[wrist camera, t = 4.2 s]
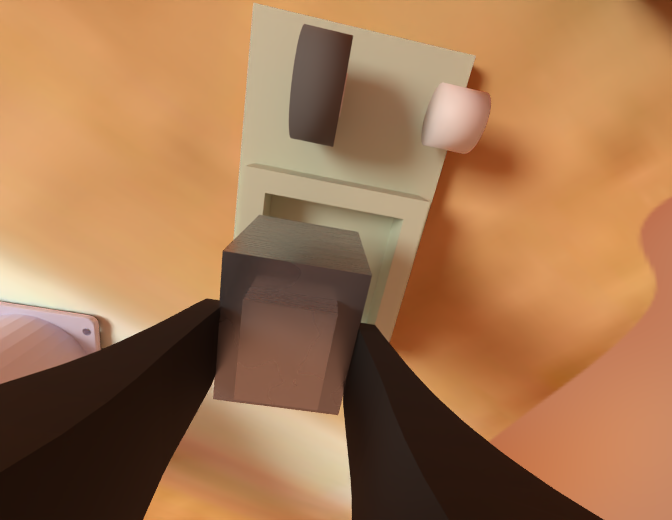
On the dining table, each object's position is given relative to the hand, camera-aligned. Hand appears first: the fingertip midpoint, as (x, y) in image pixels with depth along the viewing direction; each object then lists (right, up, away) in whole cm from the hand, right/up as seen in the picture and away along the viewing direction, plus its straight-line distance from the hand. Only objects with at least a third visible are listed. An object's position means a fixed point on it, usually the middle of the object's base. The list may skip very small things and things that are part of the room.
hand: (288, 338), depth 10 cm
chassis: (+1, +6, +8) cm, 9 cm away
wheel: (+1, +10, +5) cm, 11 cm away
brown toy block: (0, +2, +4) cm, 4 cm away
